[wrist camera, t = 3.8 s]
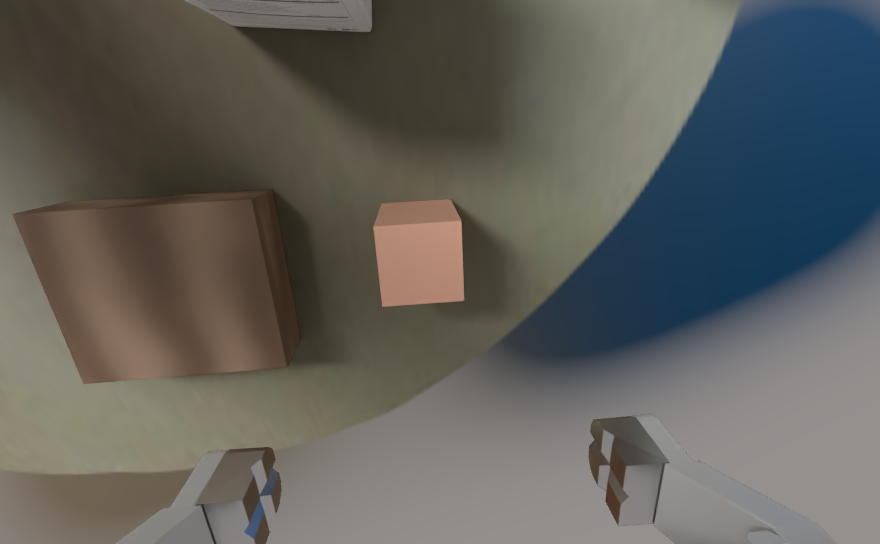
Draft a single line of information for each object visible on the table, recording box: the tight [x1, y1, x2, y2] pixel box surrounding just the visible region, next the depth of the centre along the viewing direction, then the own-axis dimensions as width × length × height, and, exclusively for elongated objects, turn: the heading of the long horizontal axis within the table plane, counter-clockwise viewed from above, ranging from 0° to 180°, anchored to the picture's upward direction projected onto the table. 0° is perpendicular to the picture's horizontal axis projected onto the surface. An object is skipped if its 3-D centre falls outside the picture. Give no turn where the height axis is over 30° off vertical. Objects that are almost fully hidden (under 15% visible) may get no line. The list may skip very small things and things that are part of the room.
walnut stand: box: [13, 189, 301, 384], centre depth 29 cm, size 14×12×4 cm
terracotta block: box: [373, 199, 464, 307], centre depth 27 cm, size 5×5×7 cm
